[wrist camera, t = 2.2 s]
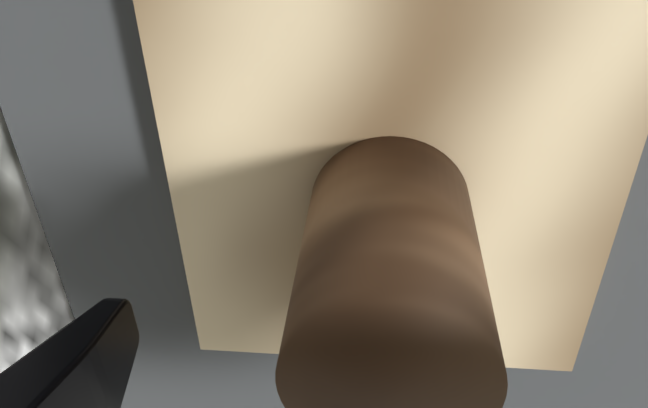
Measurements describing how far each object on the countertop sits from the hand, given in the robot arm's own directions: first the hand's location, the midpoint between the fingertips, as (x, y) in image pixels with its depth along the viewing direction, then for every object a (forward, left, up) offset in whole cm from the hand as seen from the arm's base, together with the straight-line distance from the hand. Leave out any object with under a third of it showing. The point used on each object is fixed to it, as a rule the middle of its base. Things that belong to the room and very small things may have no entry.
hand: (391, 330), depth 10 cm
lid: (0, 0, -5) cm, 5 cm away
